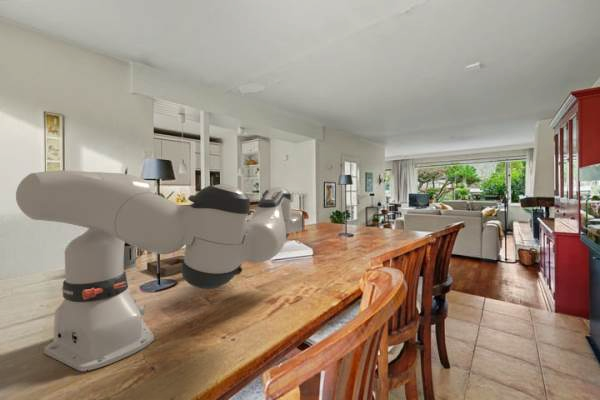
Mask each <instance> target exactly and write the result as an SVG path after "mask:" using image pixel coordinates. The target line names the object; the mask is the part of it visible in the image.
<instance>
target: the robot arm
mask: <svg viewBox="0 0 600 400" xmlns="http://www.w3.org/2000/svg"><path fill="white" fill-rule="evenodd" d="M187 199H188V200H187V201H190V202H192V203H191V204H190V205H182V204H178V203H176V202H173V201H171V200H169V199H167V198H166V197H164V196H161V195H159V194H157V193H155V192H152V191H151V187H150V185H149V183H148V182H147V181H146V179H144V178H142V177H139V176H135V175H132V174H128V173H123V172H121V173H120V172H119V173H118V172H101V171H80V170H78V171H76V170H64V169H63V170H60V169H59V170H50V171H40V172H39V171H38V172H32V173H29V174H28V175H26V176H25V177H24V178H23V179H22V180H21V181H20V182H19V183H18V185H17V188H16V191H15V201H16V204H17V206H18V208H19V209H20V210H21V212H22V213H23V214H24V215H25V216H27V217H28V218H30V219H32V220H34V221H45V222H57V223H61V224H62V223H63V224H68V225H74V226H78V227H83V228H87V230H86V231H85V232H84V233H82V234H80V235H78V236H77V237H75V238H74V239H72V240H71V241H70V242H68V244H67V246H66V248H65V249H64V270H65V271H64V274H65V278H64V280H63V282H62V286H61V287H62V288H61V289H62V290H61V291H62V297H63V298H64V299H63V300H62V303H61V304H60V305H59V306H58V307H57V308H56V309H55V311H54V320H53V323H54V324H53V325H54V326H53V341H52V342H50V343H49V344H47V345H46V346H45V347H44V349H43V353H44V354H45V355H46V356H49V357H51V358H53V359H55V360H57V361H59V362H60V363H63V364H65V365H67V366H69V367H71V368H73V369H75V370H77V371H79V372H87V370H88V371H92V370H95V369H99V368H102V367H105V366H108V365H111V364H113V363H115V362H118V361H120V360H122V359H125V358H126V357H129V356H131V355H133V354H135V353H137V352H139V351H141V350H143V349H144V348H146V347H148V345H150V344H151V343H152V342H154V340H155V336H154V334H153V332H152V331H151V329H150V328H149V327H148V325H147V324H146V323H145V321H144V320H143V319H142V316H144V315H145V312H146V311H145V306H144V305H139V306H138V305H137V304H136V303H137V297H135V296H134V297H133V295H132V293H131V292H130V290H129V285H128V284H129V283H128V277H127V274H126V273H127V272H126V271H125V269H124V244H125V242H126V243H128V244H130V245H132V246H134V247H136V249H138V250H142V251H143V250H145V251H144V252H149V253H153V254H157V255H169V254H170V255H171V254H174V253H176V252H178V251H179V250H181V249H182V248H183V247H185V251H184V256H185V257H184V259H183V261H182V273H181V274H182V278H183V280H184V281H185V282H186V283H187V284H188V285H190V286H193V287H195V288H198V289H203V290H215V289H218V288H219V289H220V287H223V286H224V285H226V284H227V283H229V282H230V281H231V280H233V278H234V277H235V275H241V273H242V272H243V269H242V264H243V263H245V262H252V263H264V262H267V261H269V260H271V259H273V258H275V257H276V256H277V255H278V254H279V253H280V252H281V251H282V250H283V247H284V246H285V243H286V242H287V241H286V240H287V238H288V237H289V236H290V235H291V233H298V232H301V231H303V229H304V214H303V212H302V211H300V210H295V209H293V210H292V209H291V207H292V206H291V202H292V201H291V199H292V194H291V193H290V191H289V190H288V189H286V188H284V187H279V186H278V187H276V186H275V187H271V188H268V189H266V190H265V191H264V192H263V193H262V195H261V198H260V200H259V202H257V203H258V204H257V206H256V208H255V211H254V213H253V214H250V211H251V210H250V209H251V200H250V197H249V195H248V194H247V193H245V192H243V191H242V190H241V189H239V188H238V187H236V186H234V185H231V184H226V183H225V184H223V183H221V184H213V185H212V184H211V185H208V186H205V187H204V188H202V189H200V190H199V191H198V192H197V193H196V194H195V195H194V194H192V195H189V197H188V198H187ZM248 214H249V215H248Z"/></svg>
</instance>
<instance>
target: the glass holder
mask: <svg viewBox="0 0 600 400" xmlns="http://www.w3.org/2000/svg"><path fill="white" fill-rule="evenodd" d="M145 252H146V251H145V250H142V252H141V253H140V254H139V255H138V256H137V248H136V247H134V246H132V245H130V244H128V243H126V242H125V244H124V270H128V269H133V268H136V267H137V266H138V263H137V259H139V258H140V257H141V256H142V255H143V254H144V253H145Z"/></svg>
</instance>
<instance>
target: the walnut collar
mask: <svg viewBox="0 0 600 400" xmlns="http://www.w3.org/2000/svg"><path fill="white" fill-rule="evenodd" d="M184 257H185V255H183V254H182V255H177V256H173V257H167V258H162V259H159V260H160V274H159V275H161V276H164V277H171V276H174V275H179V274H182V261H183V259H184ZM146 269H147V271H150V272H153V273H156V274H158V273H157V260H153V261H150V262H147V263H146Z"/></svg>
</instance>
